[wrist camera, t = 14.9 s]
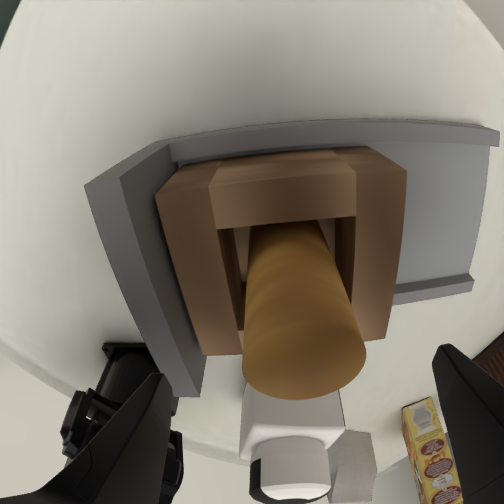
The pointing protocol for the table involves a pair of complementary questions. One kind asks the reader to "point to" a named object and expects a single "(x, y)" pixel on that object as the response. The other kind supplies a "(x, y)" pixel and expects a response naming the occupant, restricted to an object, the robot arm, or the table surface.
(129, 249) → the rail board
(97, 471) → the robot arm
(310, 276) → the dowel
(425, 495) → the candy box
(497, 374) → the manual coffee grinder
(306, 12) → the table surface
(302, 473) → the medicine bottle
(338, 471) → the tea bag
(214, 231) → the block
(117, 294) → the table surface
